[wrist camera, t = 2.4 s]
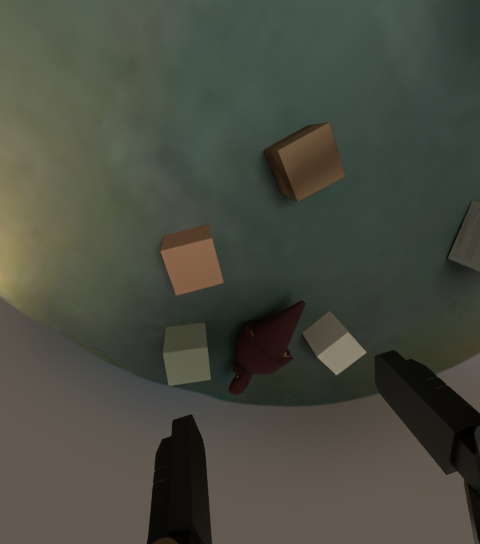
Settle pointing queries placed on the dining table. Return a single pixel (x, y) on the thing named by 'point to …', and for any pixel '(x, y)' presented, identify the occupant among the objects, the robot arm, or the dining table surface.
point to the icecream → (264, 346)
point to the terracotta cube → (191, 260)
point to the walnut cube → (305, 161)
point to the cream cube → (333, 343)
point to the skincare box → (468, 240)
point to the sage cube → (186, 354)
